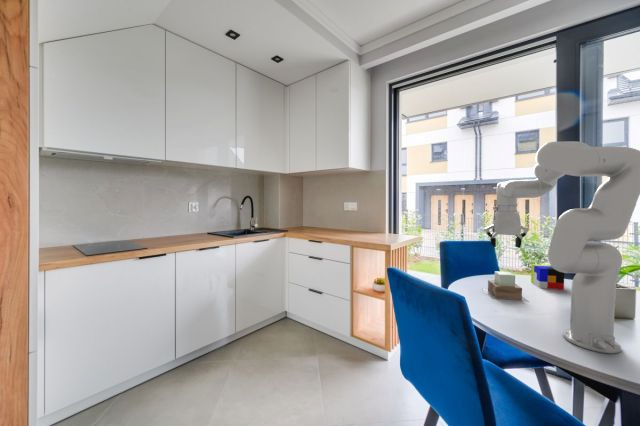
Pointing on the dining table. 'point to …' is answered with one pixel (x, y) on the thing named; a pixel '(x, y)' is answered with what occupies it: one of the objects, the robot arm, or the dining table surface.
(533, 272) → the puzzle toy
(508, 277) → the sage brick
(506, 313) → the dining table surface
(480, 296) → the dining table surface
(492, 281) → the walnut block
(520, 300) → the baseplate
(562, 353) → the dining table surface
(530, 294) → the dining table surface
